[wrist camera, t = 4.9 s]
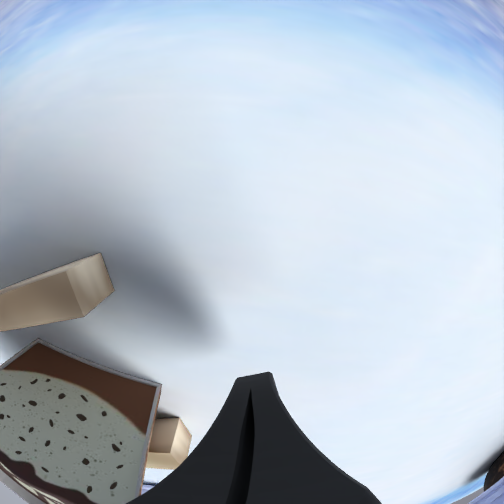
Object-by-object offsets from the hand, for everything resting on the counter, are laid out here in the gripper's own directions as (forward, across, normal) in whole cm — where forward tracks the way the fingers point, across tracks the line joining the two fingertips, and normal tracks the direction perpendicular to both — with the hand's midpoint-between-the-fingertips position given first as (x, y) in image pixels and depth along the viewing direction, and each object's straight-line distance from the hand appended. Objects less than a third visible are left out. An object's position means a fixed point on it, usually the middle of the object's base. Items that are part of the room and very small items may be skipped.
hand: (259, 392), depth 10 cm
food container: (+4, +12, +2) cm, 12 cm away
